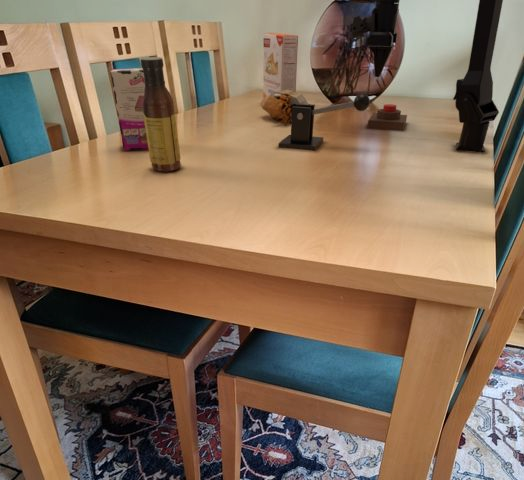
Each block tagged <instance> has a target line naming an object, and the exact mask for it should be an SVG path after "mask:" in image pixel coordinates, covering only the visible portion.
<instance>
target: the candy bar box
mask: <svg viewBox="0 0 524 480" xmlns="http://www.w3.org/2000/svg"><path fill="white" fill-rule="evenodd" d="M109 71H110V73H109V74H110V79H111V86H112V91H113V97H114V103H115V109H116V113H117V119H118V125H119V131H120V137H121V143H122V149H123V151H125V152H127V151H128V152H129V151H144V150H149V148H148V142H147V136H146V129H145V123H144V117H143V111H142V107H143V102H144V91H145V83H144V82H145V80H144V73H143V69H142V67H137V68H136V67H135V68H133V67H132V68H112V69H110V70H109Z"/></svg>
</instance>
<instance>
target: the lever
mask: <svg viewBox="0 0 524 480" xmlns="http://www.w3.org/2000/svg"><path fill="white" fill-rule="evenodd" d="M370 103H371V100H370V96H369V95H367V94H366V93H359V94H357V95H356V96H355V97H354V100H353V101H349V102H343V103H339V104H334V105H329V106H324V107H319V108H315V109H314V110H311V115H314V116H315V115H319V114H325V113H329V112H335V111H339V110H344V109H349V108H354V109H355V110H356V111H358V112H364V111H366V110H367V109H368V108H369V106H370Z"/></svg>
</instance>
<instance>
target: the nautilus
mask: <svg viewBox="0 0 524 480" xmlns="http://www.w3.org/2000/svg"><path fill="white" fill-rule="evenodd" d="M296 104H309V102H308V101H307V99H306V97H305V96H304V95H303V94H302V93H301V92H297V91H296V92H293V91H291V90H288V89H287V90H283V91H279V92H274V93H272V94H270V95H268V96H267V97H265V98H264V99H263V98H262V99H261V101H260V107H261V108H262V110H264V111H265V112H266V113H267V114H268V115H269V116H270V117H271V118H272V119H275V118H276V120H278V119H282V120H281V121H278V126H281V125H287V126H289V123H291V119H292V107H293V106H295V107H296ZM279 123H280V124H279Z"/></svg>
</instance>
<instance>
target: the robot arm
mask: <svg viewBox="0 0 524 480" xmlns="http://www.w3.org/2000/svg"><path fill="white" fill-rule="evenodd" d="M349 2H350V3H352V4H374V7H373V9H372V10H371V15H370V16H368V17H365V18H363V17H362V16H361V15H357V16H355V17H353V19H352V23H350V24H349V32H350V36H351V39H352V40H353V39H357V38H359V37H360V36H362V35H364V34H366V33H368V34H366V36H365V43H364V46H366V47H368V49H369V50H370V51H371V52H372V54H373V67H374V77H375V78H379V77H381V75H382V72H383V70H384V69H385V66H386V64H387V62H388V60H389V58H390V56H391V54H392V52H393V50H394V48H395V45H394V44H396V43H397V42H398V38H399V33H398V31H397V28H396V27H397V20H398V14H400V13H399V12H400V8H399V7H400V0H349ZM503 2H504V0H479V1H478V7H477V14H476V20H475V25H474V32H473V38H472V42H471V43H472V44H471V50H470V56H469V62H468V68H467V71H466V73H465V75H464V77H463V78H460V79H459V78H458V79H457V80H456V83H455V93H454V96H453V98H452V101H454V103H455V109H456V110H457V111H458V121H459V123H461V124H462V128H461V131H460V136H459V140H458V142H456V143H455V151H458V152H469V153H470V152H471V153H482V154H484V153H486V148H485V146H484V144H485V141H486V137H487V135H488V130H489V127H490V122H493V121H495V120H496V118H497V117H498V115H499V113H500V111H499V109H498V107H497V106H496V104H495V102H494V100H493V93H494V92H493V91H494V81H493V76H492V75H493V74H492V71H491V69H492V62H493V57H494V51H495V45H496V41H497V34H498V29H499V25H500V18H501V13H502V7H503ZM393 43H394V44H393Z"/></svg>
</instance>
